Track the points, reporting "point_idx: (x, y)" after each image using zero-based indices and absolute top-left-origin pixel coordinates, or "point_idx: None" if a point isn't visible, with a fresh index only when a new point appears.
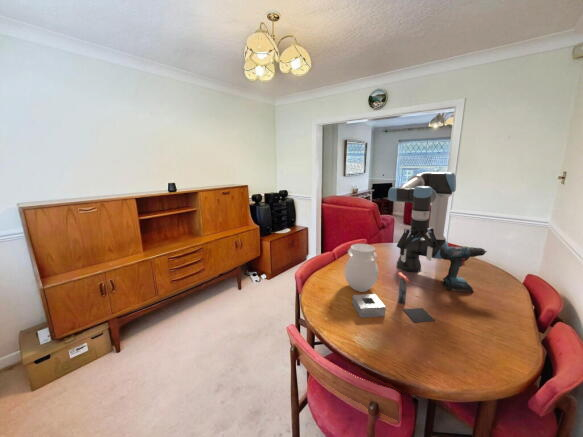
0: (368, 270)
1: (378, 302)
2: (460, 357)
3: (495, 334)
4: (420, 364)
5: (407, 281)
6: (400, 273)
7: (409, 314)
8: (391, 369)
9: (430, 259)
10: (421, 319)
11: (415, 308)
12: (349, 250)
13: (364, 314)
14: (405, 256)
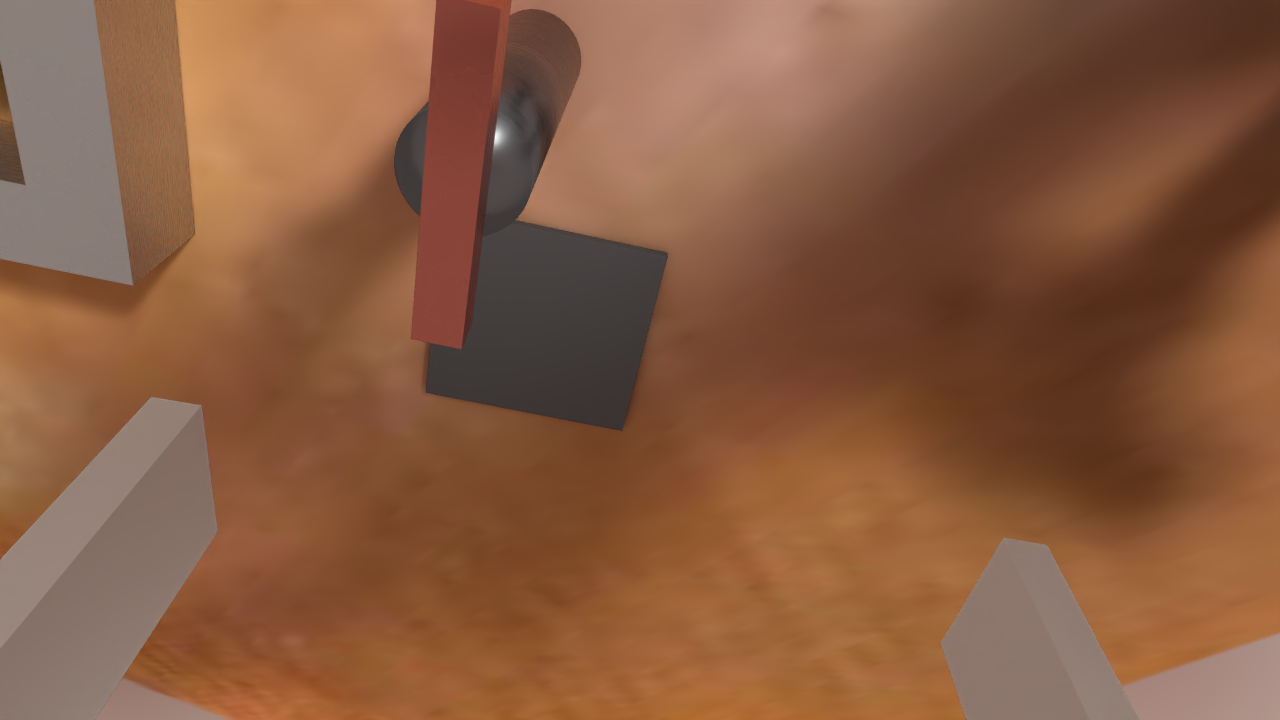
0: None
1: (71, 182)
2: (492, 666)
3: (896, 628)
4: (232, 638)
5: (424, 331)
6: (466, 52)
7: None
8: None
9: (964, 672)
10: (511, 389)
11: (585, 243)
12: None
13: None
14: (111, 679)
